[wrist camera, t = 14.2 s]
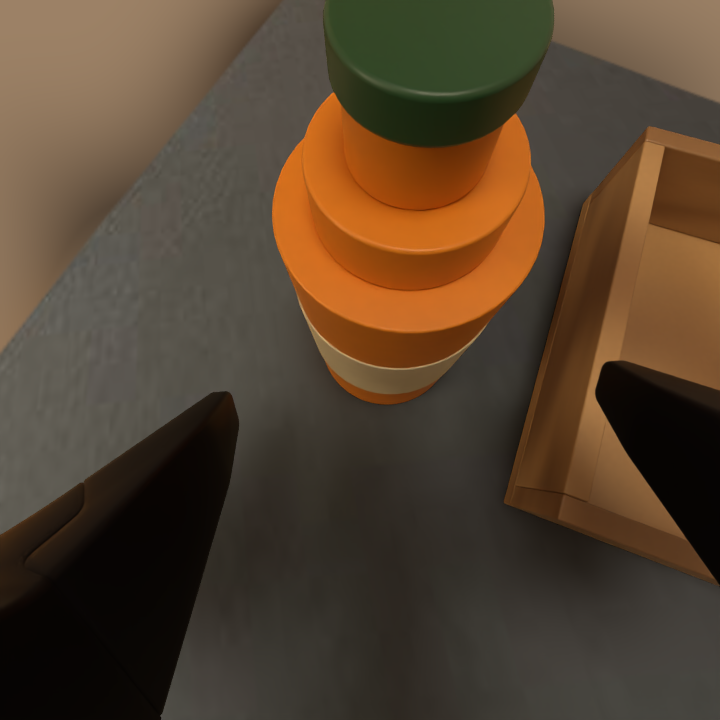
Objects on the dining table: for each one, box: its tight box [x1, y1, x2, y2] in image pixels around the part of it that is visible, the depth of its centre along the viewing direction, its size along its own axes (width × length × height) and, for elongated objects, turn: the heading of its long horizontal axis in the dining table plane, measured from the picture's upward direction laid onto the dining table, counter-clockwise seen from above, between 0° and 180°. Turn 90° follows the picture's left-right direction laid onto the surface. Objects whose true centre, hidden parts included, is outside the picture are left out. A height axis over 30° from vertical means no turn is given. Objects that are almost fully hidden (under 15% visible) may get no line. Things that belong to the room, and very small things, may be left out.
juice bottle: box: [272, 0, 554, 404], centre depth 11 cm, size 6×6×14 cm
